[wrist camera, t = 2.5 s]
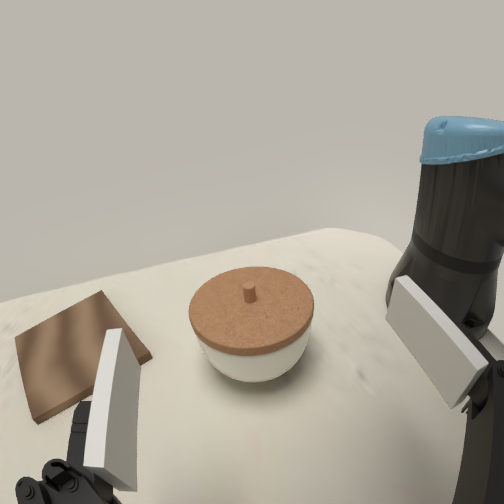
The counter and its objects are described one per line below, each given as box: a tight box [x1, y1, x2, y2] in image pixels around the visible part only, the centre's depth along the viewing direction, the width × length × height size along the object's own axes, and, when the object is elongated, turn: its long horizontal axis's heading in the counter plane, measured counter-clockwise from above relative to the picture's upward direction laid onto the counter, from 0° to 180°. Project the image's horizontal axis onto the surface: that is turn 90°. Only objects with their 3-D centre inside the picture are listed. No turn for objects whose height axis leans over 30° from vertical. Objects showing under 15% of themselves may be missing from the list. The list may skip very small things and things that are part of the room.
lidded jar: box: [189, 267, 314, 382], centre depth 27 cm, size 11×11×9 cm
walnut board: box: [15, 290, 152, 424], centre depth 30 cm, size 16×16×1 cm
